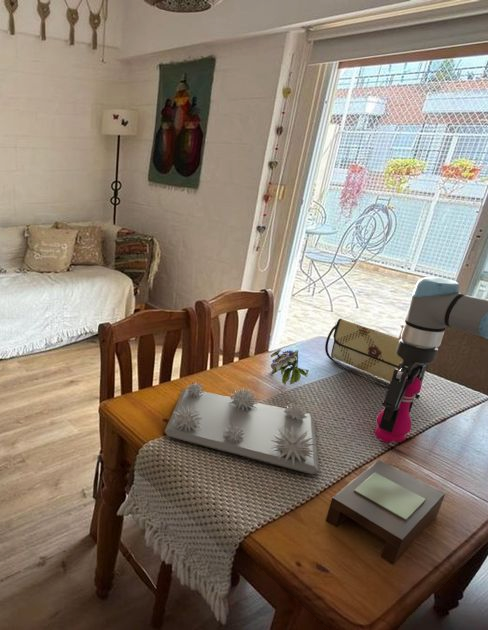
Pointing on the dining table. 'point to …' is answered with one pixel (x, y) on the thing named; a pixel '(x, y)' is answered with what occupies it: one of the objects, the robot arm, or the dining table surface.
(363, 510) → the shelf
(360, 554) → the dining table surface
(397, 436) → the pepper mill
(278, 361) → the passion flower
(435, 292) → the robot arm
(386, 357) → the clutch purse
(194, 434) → the decorative tray
